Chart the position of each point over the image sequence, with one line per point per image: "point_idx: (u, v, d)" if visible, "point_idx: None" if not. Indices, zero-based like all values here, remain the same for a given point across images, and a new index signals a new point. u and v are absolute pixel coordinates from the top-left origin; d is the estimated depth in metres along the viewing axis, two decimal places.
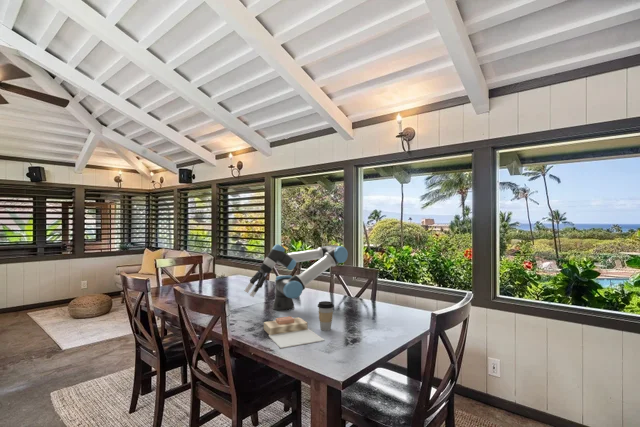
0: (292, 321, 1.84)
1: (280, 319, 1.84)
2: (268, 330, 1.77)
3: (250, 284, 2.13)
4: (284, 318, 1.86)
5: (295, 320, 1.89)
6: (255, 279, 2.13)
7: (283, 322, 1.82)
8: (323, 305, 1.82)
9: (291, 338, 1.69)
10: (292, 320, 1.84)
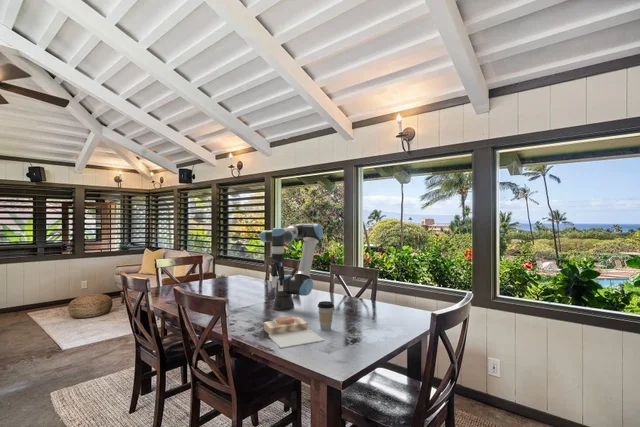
0: (292, 321, 1.84)
1: (280, 319, 1.84)
2: (268, 330, 1.77)
3: (273, 278, 2.03)
4: (284, 318, 1.86)
5: (295, 320, 1.89)
6: (275, 271, 2.01)
7: (283, 322, 1.82)
8: (323, 305, 1.82)
9: (291, 338, 1.69)
10: (292, 320, 1.84)
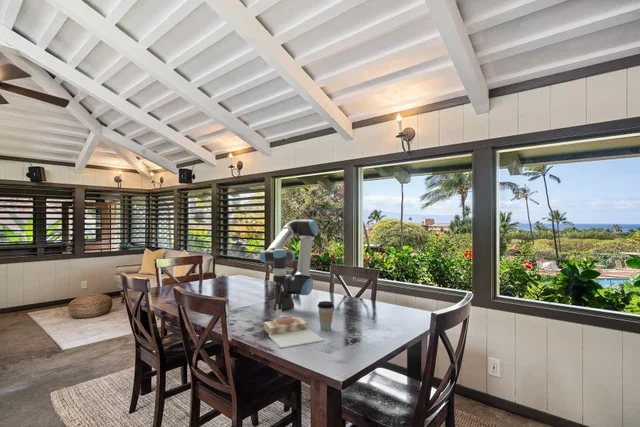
0: (292, 321, 1.84)
1: (280, 319, 1.84)
2: (268, 330, 1.77)
3: None
4: (284, 318, 1.86)
5: (295, 320, 1.89)
6: None
7: (283, 322, 1.82)
8: (323, 305, 1.82)
9: (291, 338, 1.69)
10: (292, 320, 1.84)
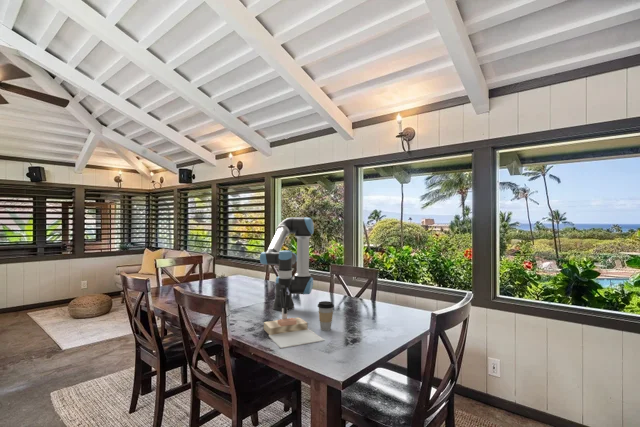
0: (294, 323, 1.81)
1: (282, 321, 1.80)
2: (268, 330, 1.77)
3: None
4: (286, 320, 1.82)
5: None
6: None
7: (285, 324, 1.79)
8: (323, 305, 1.83)
9: (291, 338, 1.69)
10: (294, 322, 1.81)
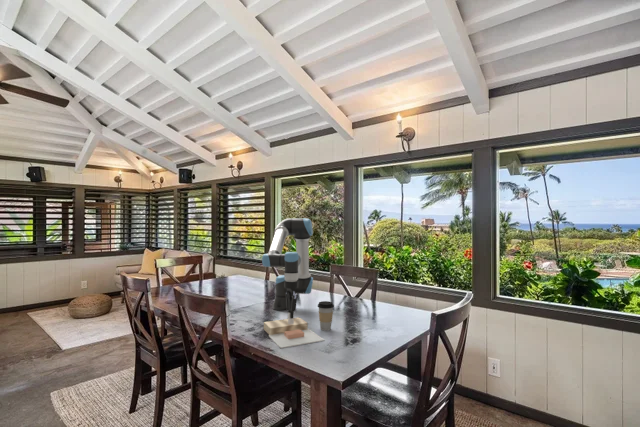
0: None
1: None
2: (268, 330, 1.77)
3: None
4: None
5: (295, 320, 1.89)
6: None
7: None
8: (323, 305, 1.82)
9: None
10: None
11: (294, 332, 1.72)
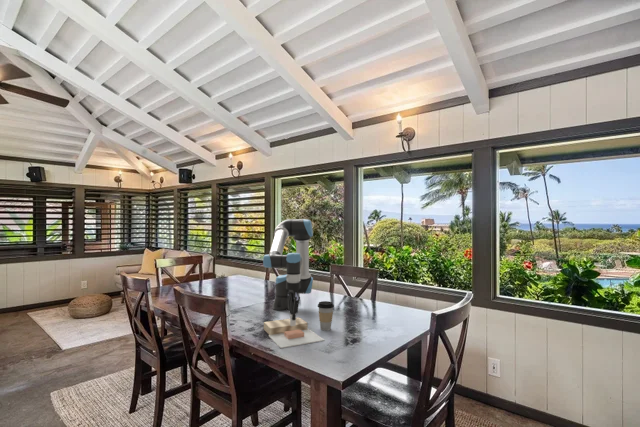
0: None
1: None
2: (268, 330, 1.77)
3: None
4: None
5: None
6: None
7: None
8: (323, 305, 1.82)
9: None
10: None
11: (294, 332, 1.72)
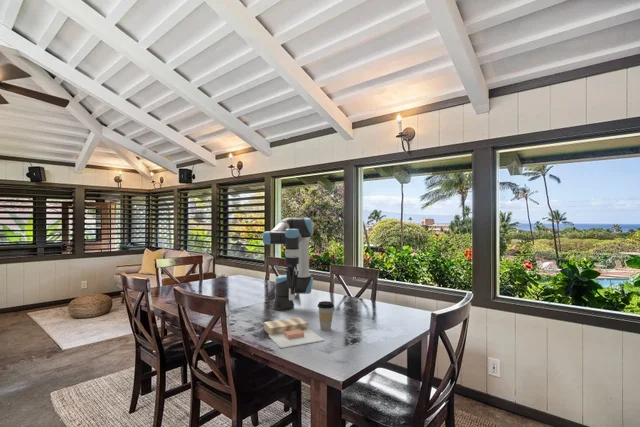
0: None
1: None
2: (268, 330, 1.77)
3: None
4: None
5: (295, 320, 1.89)
6: None
7: None
8: (323, 305, 1.82)
9: None
10: None
11: (294, 332, 1.72)
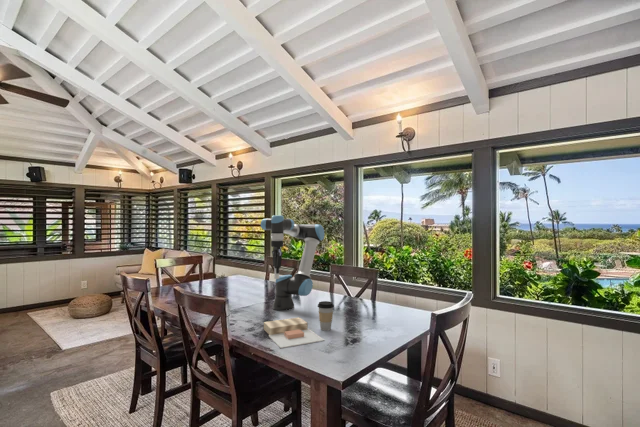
0: None
1: None
2: (268, 330, 1.77)
3: None
4: None
5: (295, 320, 1.89)
6: None
7: None
8: (323, 305, 1.82)
9: None
10: None
11: (294, 332, 1.72)
